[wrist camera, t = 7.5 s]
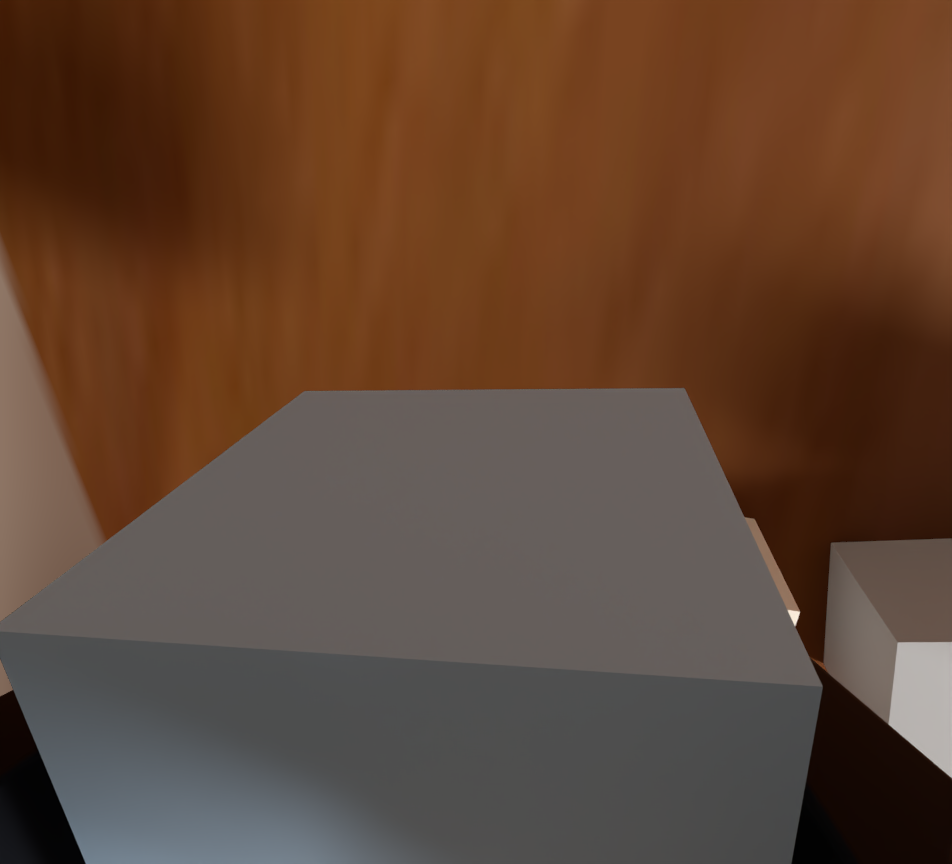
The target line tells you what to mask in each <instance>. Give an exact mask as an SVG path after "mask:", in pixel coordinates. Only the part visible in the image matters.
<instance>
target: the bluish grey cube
mask: <svg viewBox="0 0 952 864" xmlns="http://www.w3.org/2000/svg"><path fill="white" fill-rule="evenodd" d="M0 659H1V662H2V664H3V667H4V669H5V671H6V674H7V676H8V679H9V681H10V683H11V686H12V688H13V690H14V693H15V695H16V698H17V700H18V702H19V705H20V707H21V710H22V712H23V714H24V717H25V719H26V722H27V724H28V726H29V729H30V731H31V734H32V736H33V738H34V741H35V743H36V746H37V748H38V750H39V753H40V755H41V758H42V760H43V762H44V765H45V767H46V769H47V772H48V774H49V777H50V779H51V781H52V784H53V786H54V789H55V791H56V793H57V796H58V798H59V801H60V803H61V805H62V808H63V810H64V813H65V815H66V817H67V820H68V822H69V825H70V827H71V829H72V832H73V834H74V836H75V839H76V841H77V844H78V846H79V848H80V851H81V853H82V856H83V858H84V860H85V863H86V864H791V862H792V857H793V851H794V846H795V840H796V834H797V829H798V823H799V818H800V812H801V806H802V801H803V795H804V790H805V784H806V778H807V773H808V767H809V762H810V756H811V750H812V745H813V739H814V734H815V728H816V722H817V717H818V711H819V706H820V700H821V694H822V689H823V686H822V684H821V682H820V679H819V677H818V675H817V673H816V671H815V669H814V666H813V664H812V662H811V660H810V658H809V656H808V653H807V651H806V649H805V647H804V645H803V643H802V641H801V638H800V636H799V634H798V632H797V630H796V628H795V625H794V623H793V621H792V619H791V617H790V615H789V613H788V610H787V608H786V606H785V604H784V602H783V600H782V597H781V595H780V593H779V591H778V589H777V587H776V584H775V582H774V580H773V578H772V576H771V574H770V572H769V569H768V567H767V565H766V563H765V561H764V559H763V556H762V554H761V552H760V550H759V548H758V546H757V543H756V541H755V539H754V537H753V535H752V533H751V531H750V528H749V526H748V524H747V522H746V520H745V518H744V515H743V513H742V511H741V509H740V507H739V505H738V502H737V500H736V498H735V496H734V494H733V492H732V490H731V487H730V485H729V483H728V481H727V479H726V477H725V474H724V472H723V470H722V468H721V466H720V464H719V461H718V459H717V457H716V455H715V453H714V451H713V449H712V446H711V444H710V442H709V440H708V438H707V436H706V433H705V431H704V429H703V427H702V425H701V423H700V420H699V418H698V416H697V414H696V412H695V410H694V408H693V405H692V403H691V401H690V399H689V397H688V395H687V392H686V390H685V388H637V389H513V390H389V391H304V392H303V393H301V394H300V395H299V396H297V397H296V398H295V399H294V400H292V401H291V402H290V403H288V404H287V405H286V406H284V407H283V408H282V409H280V410H279V411H278V412H276V413H275V414H274V415H272V416H271V417H270V418H268V419H267V420H266V421H264V422H263V423H262V424H261V425H259V426H258V427H257V428H255V429H254V430H253V431H251V432H250V433H249V434H247V435H246V436H245V437H243V438H242V439H241V440H239V441H238V442H237V443H235V444H234V445H233V446H232V447H230V448H229V449H228V450H226V451H225V452H224V453H222V454H221V455H220V456H218V457H217V458H216V459H214V460H213V461H212V462H210V463H209V464H208V465H206V466H205V467H204V468H202V469H201V470H200V471H199V472H197V473H196V474H195V475H193V476H192V477H191V478H189V479H188V480H187V481H185V482H184V483H183V484H181V485H180V486H179V487H177V488H176V489H175V490H173V491H172V492H171V493H169V494H168V495H167V496H166V497H164V498H163V499H162V500H160V501H159V502H158V503H156V504H155V505H154V506H152V507H151V508H150V509H148V510H147V511H146V512H144V513H143V514H142V515H140V516H139V517H138V518H137V519H135V520H134V521H133V522H131V523H130V524H129V525H127V526H126V527H125V528H123V529H122V530H121V531H119V532H118V533H117V534H115V535H114V536H113V537H111V538H110V539H109V540H107V541H106V542H105V543H104V544H102V545H101V546H100V547H98V548H97V549H96V550H94V551H93V552H92V553H90V554H89V555H88V556H86V557H85V558H84V559H82V560H81V561H80V562H79V563H77V564H76V565H75V566H73V567H72V568H71V569H69V570H68V571H67V572H65V573H64V574H63V575H62V576H60V577H59V578H57V579H56V580H55V581H53V582H52V583H51V584H49V585H48V586H47V587H45V588H44V589H43V590H42V591H40V592H39V593H38V594H37V595H35V596H34V597H32V598H31V599H30V600H28V601H27V602H26V603H25V604H23V605H22V606H20V607H19V608H18V609H17V610H15V611H14V612H12V614H10V615H9V616H7V617H6V618H5V619H4V620H2V621H1V622H0Z"/></svg>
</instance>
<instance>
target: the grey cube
mask: <svg viewBox="0 0 952 864" xmlns="http://www.w3.org/2000/svg"><path fill="white" fill-rule="evenodd" d="M823 663H824V665H825V667H826V669H827V671H828V673H829V674H830V675H831V676H832V677H833V678H835V679H836V680H837V681H838V682H839V683H840V684H842V685H843V686H844V687H845V688H846V689H848V690H849V691H850V692H851V693H852V694H853V695H855V696H856V697H857V698H858V699H859V700H860V701H862V702H863V703H864V704H865V705H866V706H868V707H869V708H870V709H871V710H872V711H873V712H875V713H876V714H877V715H878V716H879V717H880V718H882V719H883V720H884V721H885V722H886V723H888V724H889V725H890V726H891V727H892V728H893V729H895V730H896V731H897V732H898V733H899V734H900V735H902V736H903V737H904V738H905V739H906V740H908V741H909V742H910V743H911V744H912V745H913V746H915V747H916V748H917V749H918V750H919V751H920V752H922V753H923V754H924V755H925V756H926V757H927V758H929V759H930V760H931V761H932V762H933V763H935V764H936V765H937V766H938V767H939V768H940V769H942V770H943V771H944V772H945V773H946V774H947V775H949V776H950V777H951V778H952V538H948V539H920V540H892V541H864V542H836V543H831V550H830V566H829V582H828V598H827V614H826V630H825V646H824V662H823Z"/></svg>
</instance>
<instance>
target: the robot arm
mask: <svg viewBox="0 0 952 864" xmlns="http://www.w3.org/2000/svg"><path fill="white" fill-rule="evenodd" d="M809 658H810V657H809ZM810 660H811V662H812V664H813V666H814V669H815V671H816V673H817V675H818V677H819V679H820V682H821V684H822V686H823V689H822V694H821V700H820V706H819V711H818V717H817V722H816V728H815V734H814V739H813V745H812V750H811V756H810V762H809V767H808V773H807V778H806V784H805V790H804V795H803V801H802V806H801V812H800V818H799V823H798V829H797V834H796V840H795V846H794V851H793V857H792V862H791V864H952V778H951V777H950V776H949V775H947V774H946V773H945V772H944V771H943V770H942V769H940V768H939V767H938V766H937V765H936V764H935V763H933V762H932V761H931V760H930V759H929V758H927V757H926V756H925V755H924V754H923V753H922V752H920V751H919V750H918V749H917V748H916V747H915V746H913V745H912V744H911V743H910V742H909V741H908V740H906V739H905V738H904V737H903V736H902V735H900V734H899V733H898V732H897V731H896V730H895V729H893V728H892V727H891V726H890V725H889V724H888V723H886V722H885V721H884V720H883V719H882V718H880V717H879V716H878V715H877V714H876V713H875V712H873V711H872V710H871V709H870V708H869V707H868V706H866V705H865V704H864V703H863V702H862V701H860V700H859V699H858V698H857V697H856V696H855V695H853V694H852V693H851V692H850V691H849V690H848V689H846V688H845V687H844V686H843V685H842V684H840V683H839V682H838V681H837V680H836V679H835V678H833V677H832V676H831V675H830V674H829V673H828V672H826V671H825V670H824V669H823V668H822V667H820V666H819V665H818V664H817V663H816V662H815V661H813V660H812V659H811V658H810ZM0 864H86V863H85V860H84V858H83V856H82V853H81V851H80V848H79V846H78V844H77V841H76V839H75V836H74V834H73V832H72V829H71V827H70V825H69V822H68V820H67V817H66V815H65V813H64V810H63V808H62V805H61V803H60V801H59V798H58V796H57V793H56V791H55V789H54V786H53V784H52V781H51V779H50V777H49V774H48V772H47V769H46V767H45V765H44V762H43V760H42V758H41V755H40V753H39V750H38V748H37V746H36V743H35V741H34V738H33V736H32V734H31V731H30V729H29V726H28V724H27V722H26V719H25V717H24V714H23V712H22V710H21V707H20V705H19V702H18V700H17V698H16V695H15V693H14V690H12V691H10V692H8V693H6V694H4V695H2V696H0Z"/></svg>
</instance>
